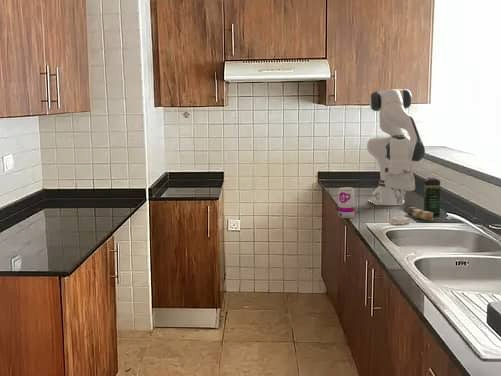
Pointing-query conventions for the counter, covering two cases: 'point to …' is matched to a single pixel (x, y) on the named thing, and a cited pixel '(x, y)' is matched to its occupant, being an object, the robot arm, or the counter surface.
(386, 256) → the counter surface
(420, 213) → the oak leg
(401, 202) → the locking pin
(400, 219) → the socket
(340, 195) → the supplement can
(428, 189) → the coffee jar
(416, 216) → the hinge plate
